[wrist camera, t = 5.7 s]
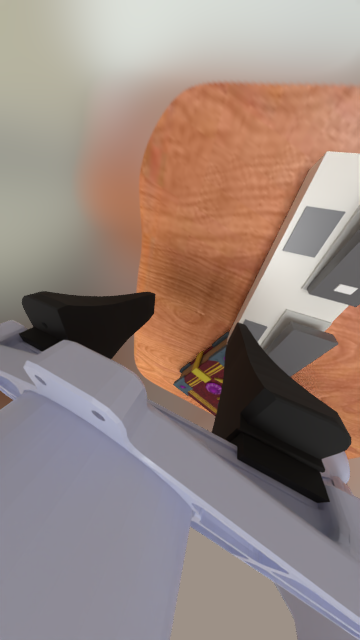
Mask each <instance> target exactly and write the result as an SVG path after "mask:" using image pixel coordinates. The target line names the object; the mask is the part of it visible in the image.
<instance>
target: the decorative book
mask: <svg viewBox="0 0 360 640" xmlns="http://www.w3.org/2000/svg"><path fill="white" fill-rule="evenodd" d="M228 336H229V332H227V333H225V334H224V335H223V336H222V337H220V338H219V339H218V340H217V341H215V342H214V343H213V344H212V346H211V347H210V348H209V349H207V350H206V351H205V352H203V351H202V352H201V353H199V354H198V355H197V358H196V359H195V360H193V361H192V362H191V363H190V362H189V363H188V364H187V365H185V366H184V367H183V368H181V369H180V372H181V373H182V374H181V376H180V378H179V379H178V380H176V381H175V382H174V384H173V385H174V386H176V387H177V388H178V389H180V390H181V391H182V392H183V393H185V394H186V395H187V396H188V395H189V396H190V397H192V398H193V399H194V400H195V401H197V402H198V403H199V404H201V405H202V406H203V407H204V408H206V409H207V410H208V411H209V412H211V413H212V414H213V415H215V416H216V413H217V408H218V404H219V399H220V394H221V389H222V383H223V376H224V363H225V351H226V346H227V345H226V344H227V338H228Z"/></svg>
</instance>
